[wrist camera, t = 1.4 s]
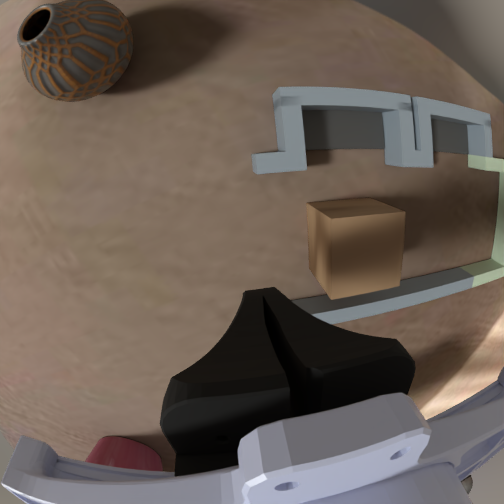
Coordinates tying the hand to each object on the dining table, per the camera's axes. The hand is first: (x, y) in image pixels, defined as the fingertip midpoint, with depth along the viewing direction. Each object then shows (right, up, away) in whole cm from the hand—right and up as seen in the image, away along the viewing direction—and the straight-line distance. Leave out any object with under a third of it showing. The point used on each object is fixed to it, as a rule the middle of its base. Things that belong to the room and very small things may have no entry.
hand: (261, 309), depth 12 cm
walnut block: (+6, +4, +9) cm, 11 cm away
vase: (-11, +16, +3) cm, 20 cm away
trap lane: (+13, +7, +8) cm, 17 cm away
